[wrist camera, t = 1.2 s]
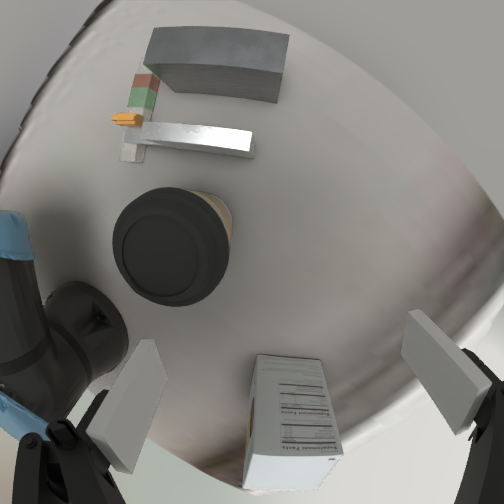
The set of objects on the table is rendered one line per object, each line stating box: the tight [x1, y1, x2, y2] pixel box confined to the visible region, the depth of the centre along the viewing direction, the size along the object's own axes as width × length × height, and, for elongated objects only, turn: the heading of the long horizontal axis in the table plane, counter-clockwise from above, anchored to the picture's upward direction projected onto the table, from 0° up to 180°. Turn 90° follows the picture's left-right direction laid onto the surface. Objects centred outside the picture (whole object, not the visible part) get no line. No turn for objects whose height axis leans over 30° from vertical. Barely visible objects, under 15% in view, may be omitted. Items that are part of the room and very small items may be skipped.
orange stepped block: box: [111, 113, 144, 127], centre depth 25 cm, size 3×1×3 cm, turn 80°
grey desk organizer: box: [120, 26, 290, 162], centre depth 24 cm, size 17×13×10 cm
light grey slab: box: [123, 122, 255, 159], centre depth 25 cm, size 14×2×10 cm, turn 80°
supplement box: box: [242, 354, 344, 491], centre depth 30 cm, size 10×9×17 cm
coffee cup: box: [112, 187, 232, 307], centre depth 25 cm, size 9×9×15 cm
